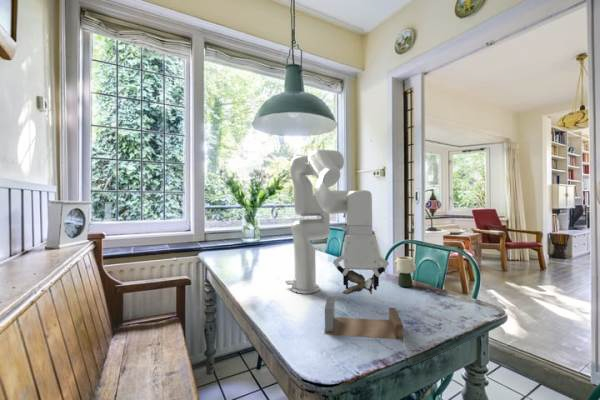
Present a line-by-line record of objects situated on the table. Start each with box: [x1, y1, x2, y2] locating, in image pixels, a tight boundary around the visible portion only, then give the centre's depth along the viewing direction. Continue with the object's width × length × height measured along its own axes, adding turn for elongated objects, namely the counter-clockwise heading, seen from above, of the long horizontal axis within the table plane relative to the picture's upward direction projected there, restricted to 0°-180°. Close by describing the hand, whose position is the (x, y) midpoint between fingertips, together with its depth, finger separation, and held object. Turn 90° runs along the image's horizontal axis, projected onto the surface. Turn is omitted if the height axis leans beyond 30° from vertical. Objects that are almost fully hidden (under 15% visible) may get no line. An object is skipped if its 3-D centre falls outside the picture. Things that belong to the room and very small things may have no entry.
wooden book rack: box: [323, 307, 404, 344], centre depth 84 cm, size 22×12×6 cm, turn 80°
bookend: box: [324, 296, 336, 333], centre depth 86 cm, size 2×10×7 cm, turn 170°
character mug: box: [394, 256, 417, 287], centre depth 127 cm, size 11×7×13 cm, turn 35°
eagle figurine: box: [342, 269, 374, 295], centre depth 84 cm, size 8×7×9 cm
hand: (360, 287), depth 84 cm, fingers closed on eagle figurine, 7 cm apart
